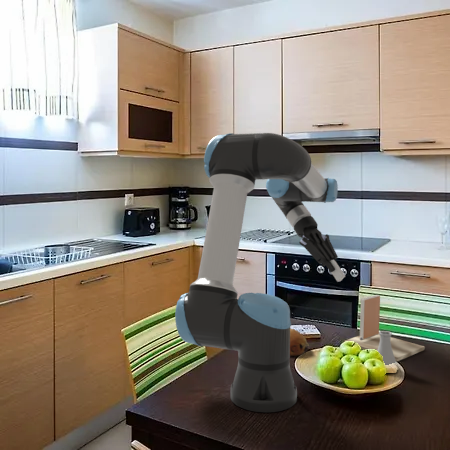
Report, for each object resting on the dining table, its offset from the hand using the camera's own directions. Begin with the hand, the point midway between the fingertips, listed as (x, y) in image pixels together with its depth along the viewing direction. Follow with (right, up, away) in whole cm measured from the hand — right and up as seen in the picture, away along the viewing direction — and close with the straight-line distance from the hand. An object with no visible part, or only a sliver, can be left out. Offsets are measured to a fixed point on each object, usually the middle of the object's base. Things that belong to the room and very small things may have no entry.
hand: (341, 278), depth 162 cm
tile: (+7, -17, -7) cm, 19 cm away
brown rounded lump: (-18, -20, -13) cm, 29 cm away
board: (+10, -19, -10) cm, 24 cm away
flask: (+5, -21, -28) cm, 35 cm away
